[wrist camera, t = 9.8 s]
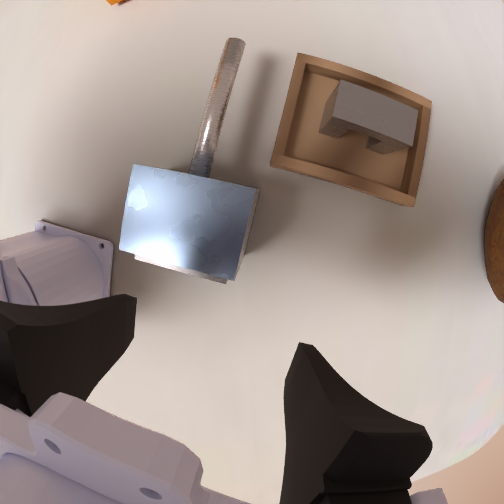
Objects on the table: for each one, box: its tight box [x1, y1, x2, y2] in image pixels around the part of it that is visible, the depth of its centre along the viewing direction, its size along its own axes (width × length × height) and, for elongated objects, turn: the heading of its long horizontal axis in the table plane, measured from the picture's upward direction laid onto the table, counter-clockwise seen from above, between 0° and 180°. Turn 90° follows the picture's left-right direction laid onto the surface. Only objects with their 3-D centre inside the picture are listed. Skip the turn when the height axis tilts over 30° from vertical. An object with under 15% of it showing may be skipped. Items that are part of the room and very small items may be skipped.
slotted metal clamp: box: [318, 80, 418, 155], centre depth 16 cm, size 5×2×5 cm, turn 76°
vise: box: [119, 38, 260, 284], centre depth 17 cm, size 7×15×6 cm, turn 166°
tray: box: [270, 53, 432, 207], centre depth 18 cm, size 10×8×2 cm
